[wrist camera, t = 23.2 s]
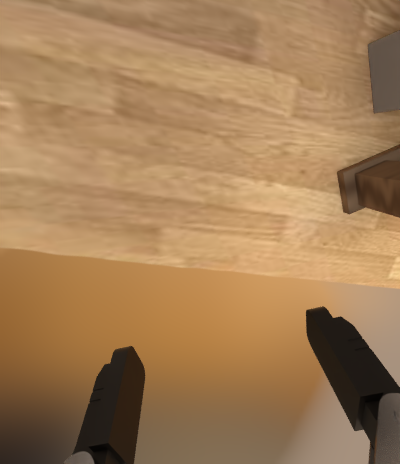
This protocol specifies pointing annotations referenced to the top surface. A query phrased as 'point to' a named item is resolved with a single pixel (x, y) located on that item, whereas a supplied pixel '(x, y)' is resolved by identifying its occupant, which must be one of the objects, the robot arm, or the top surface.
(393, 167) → the gate
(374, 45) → the pedestal
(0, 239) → the top surface
